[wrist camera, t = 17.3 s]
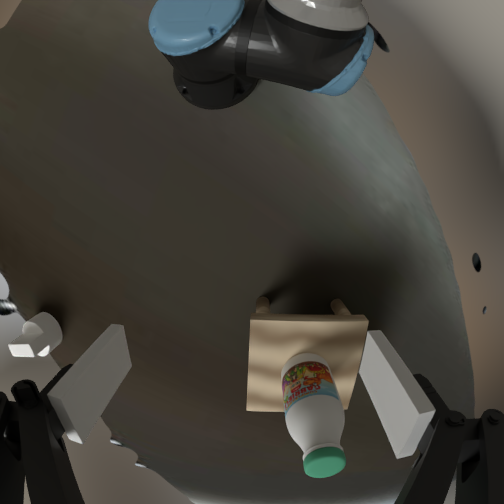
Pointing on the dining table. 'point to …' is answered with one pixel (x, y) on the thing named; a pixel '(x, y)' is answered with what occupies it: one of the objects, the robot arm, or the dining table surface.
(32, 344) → the cylinder with rectangular tab
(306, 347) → the oak footstool
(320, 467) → the milk bottle
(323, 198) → the dining table surface
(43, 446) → the robot arm
